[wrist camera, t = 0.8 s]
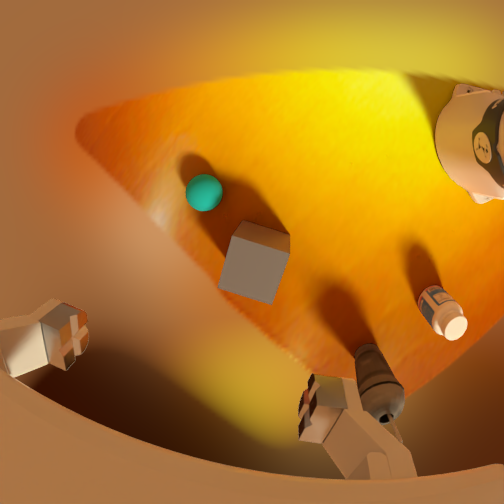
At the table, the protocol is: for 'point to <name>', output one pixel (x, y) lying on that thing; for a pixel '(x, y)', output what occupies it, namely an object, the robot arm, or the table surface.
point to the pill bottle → (442, 312)
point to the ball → (204, 192)
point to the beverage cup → (378, 386)
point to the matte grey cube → (255, 262)
